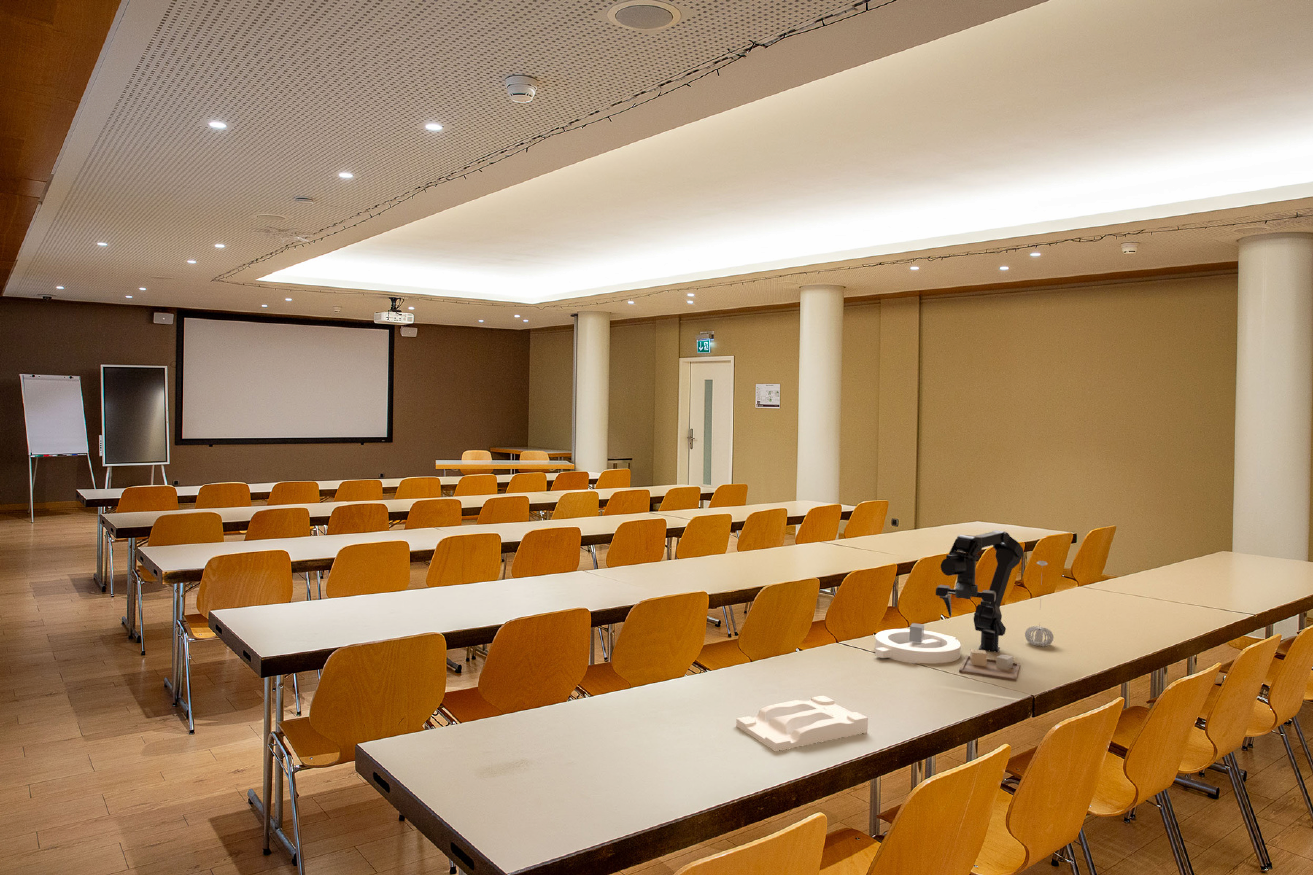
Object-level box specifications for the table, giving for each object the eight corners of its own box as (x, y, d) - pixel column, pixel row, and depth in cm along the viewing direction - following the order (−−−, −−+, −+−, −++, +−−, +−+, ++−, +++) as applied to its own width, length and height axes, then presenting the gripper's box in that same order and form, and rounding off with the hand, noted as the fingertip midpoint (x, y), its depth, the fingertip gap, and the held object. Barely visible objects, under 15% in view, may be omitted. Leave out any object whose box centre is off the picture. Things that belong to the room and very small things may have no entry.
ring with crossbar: (956, 646, 298) (957, 632, 298) (963, 669, 271) (964, 655, 271) (875, 638, 305) (875, 625, 305) (874, 661, 278) (874, 647, 278)
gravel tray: (966, 658, 281) (966, 655, 281) (1019, 666, 273) (1019, 663, 273) (958, 673, 265) (959, 670, 265) (1015, 682, 257) (1015, 678, 257)
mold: (868, 734, 216) (868, 716, 215) (776, 753, 202) (777, 734, 202) (823, 711, 232) (823, 694, 231) (735, 727, 218) (735, 710, 218)
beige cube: (1002, 664, 274) (1002, 654, 274) (1012, 667, 271) (1013, 656, 271) (995, 667, 271) (996, 656, 271) (1006, 670, 268) (1007, 659, 268)
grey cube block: (911, 637, 291) (912, 622, 291) (923, 638, 289) (924, 624, 289) (909, 640, 286) (909, 626, 286) (921, 642, 285) (921, 627, 284)
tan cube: (969, 661, 277) (970, 649, 277) (984, 662, 276) (984, 650, 276) (971, 664, 273) (972, 652, 273) (986, 665, 272) (986, 653, 272)
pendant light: (1056, 649, 295) (1059, 564, 294) (1028, 647, 297) (1031, 563, 296) (1049, 641, 304) (1052, 559, 303) (1022, 639, 306) (1025, 558, 305)
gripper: (933, 573, 280) (932, 619, 280) (993, 580, 271) (991, 627, 272) (938, 568, 290) (937, 612, 290) (996, 574, 281) (995, 620, 282)
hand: (964, 618), depth 283 cm, fingers open, 9 cm apart
